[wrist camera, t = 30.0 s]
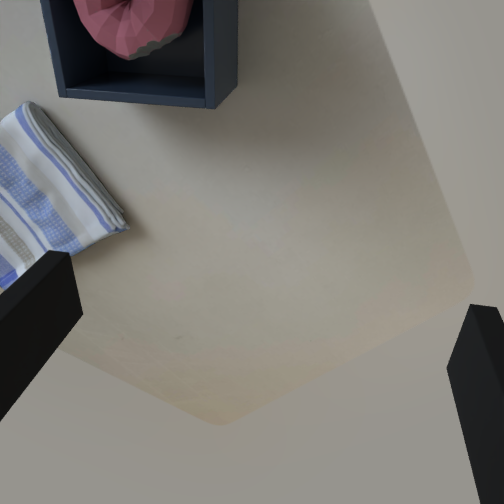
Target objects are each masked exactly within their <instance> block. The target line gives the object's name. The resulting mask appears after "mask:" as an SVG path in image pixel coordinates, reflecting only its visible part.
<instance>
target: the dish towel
mask: <svg viewBox="0 0 504 504" xmlns="http://www.w3.org/2000/svg"><path fill="white" fill-rule="evenodd" d="M122 213H123V210H122V209H121V208H120V207H119V206H118V204H117V203H116V202H115V200H114V199H113V198H112V197H111V196H110V194H109V193H108V192H107V190H106V189H105V188H104V186H103V185H102V183H101V182H100V181H99V180H98V178H97V177H96V176H95V175H94V173H93V172H92V171H91V169H90V168H89V167H88V166H87V164H86V163H85V162H84V161H83V160H82V158H81V157H80V156H79V155H78V153H77V152H76V151H75V150H74V149H73V147H72V146H71V145H70V144H69V142H68V141H67V140H66V139H65V138H64V136H63V135H62V134H61V133H60V132H59V131H58V129H57V128H56V127H55V125H54V124H53V123H52V122H51V120H50V119H49V118H48V117H47V116H46V115H45V113H44V112H43V111H42V110H41V109H40V108H39V107H38V106H37V105H36V104H35V103H33V102H31V101H27V102H25V103H24V104H22V105H21V106H19V107H18V109H16V110H14V111H13V112H11V113H10V114H8V115H7V116H6V117H5V118H4V119H2V120H1V121H0V287H2V288H3V289H4V290H6V289H7V288H8V287H9V286H10V285H11V284H13V283H14V282H15V281H16V280H17V279H18V278H19V277H20V276H21V275H22V274H23V273H24V272H25V271H27V270H28V269H29V268H30V267H31V266H32V265H33V264H34V263H35V262H36V261H37V260H38V259H39V258H41V257H42V256H43V255H44V254H45V253H46V252H47V251H48V250H54V251H62V252H69V253H70V257H71V256H74V255H75V254H77V253H79V252H81V251H82V250H84V249H86V248H87V247H89V246H91V245H93V244H95V243H96V242H98V241H100V240H102V239H105V238H107V237H108V236H111V235H113V234H116V233H120V232H122V231H124V230H128V229H130V226H129V225H127V224H126V222H125V220H124V219H123V217H122V215H121V214H122Z"/></svg>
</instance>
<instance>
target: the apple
mask: <svg viewBox="0 0 504 504" xmlns="http://www.w3.org/2000/svg"><path fill="white" fill-rule="evenodd" d="M73 1H74V4H75V6H76V9H77V12H78V15H79V17H80V20H81V22H82V23H83V25H84V26H85V27H86V29H87V30H88V32H89V33H90V34H91V36H92V37H93V39H94V40H95V41H96V42H97V43H98V44H100V45H101V46H103V47H105V48H106V49H108V50H109V51H111V52H112V53H114V54H116V55H117V56H119V57H121V58H123V59H126V60H133V59H136V58H138V57H142V56H147V55H149V54H150V52H151V51H153V50H155V49H160V48H161V47H162V46H163V45H165V44H168V43H171V41H172V40H174V39H175V38H177V37H178V36H179V37H180V36H181V34H182V32H183V31H184V29H185V28H186V26H187V24H188V20H189V17H190V13H191V9H192V5H193V2H194V0H73Z"/></svg>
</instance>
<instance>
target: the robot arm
mask: <svg viewBox="0 0 504 504" xmlns="http://www.w3.org/2000/svg"><path fill="white" fill-rule="evenodd" d="M82 315H83V311H82V306H81V302H80V298H79V293H78V289H77V284H76V280H75V275H74V271H73V267H72V262H71V258H70V253H69V252H62V251H54V250H48V251H47V252H46V253H45V254H44V255H43V256H42V257H41V258H39V259H38V260H37V261H36V262H35V263H34V264H33V265H32V266H31V267H30V268H29V269H28V270H27V271H25V272H24V273H23V274H22V275H21V276H20V277H19V278H18V279H17V280H16V281H15V282H14V283H13V284H11V285H10V286H9V287H8V288H7V289H6V290H5V291H4V292H3V293H2V294H1V295H0V421H1V420H2V419H3V417H4V416H5V415H6V414H7V412H8V411H9V410H10V408H11V407H12V405H13V404H14V403H15V402H16V400H17V399H18V398H19V397H20V395H21V394H22V393H23V391H24V390H25V389H26V388H27V386H28V385H29V384H30V382H31V381H32V380H33V379H34V377H35V376H36V375H37V373H38V372H39V371H40V370H41V368H42V367H43V366H44V364H45V363H46V362H47V360H48V359H49V358H50V357H51V355H52V354H53V353H54V351H55V350H56V349H57V348H58V346H59V345H60V344H61V342H62V341H63V340H64V338H65V337H66V336H67V335H68V333H69V332H70V331H71V329H72V328H73V327H74V326H75V324H76V323H77V322H78V320H79V319H80V318H81V317H82ZM447 372H448V376H449V380H450V384H451V388H452V392H453V396H454V400H455V404H456V408H457V412H458V416H459V420H460V424H461V428H462V432H463V435H464V440H465V444H466V448H467V452H468V456H469V460H470V464H471V468H472V472H473V476H474V479H475V484H476V488H477V492H478V496H479V500H480V504H504V322H503V320H502V318H501V316H500V313H499V311H498V309H497V307H490V306H482V305H474V304H470V306H469V309H468V311H467V315H466V317H465V320H464V322H463V325H462V328H461V331H460V333H459V336H458V338H457V341H456V344H455V346H454V349H453V352H452V354H451V357H450V360H449V363H448V365H447Z"/></svg>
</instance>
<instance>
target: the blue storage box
mask: <svg viewBox="0 0 504 504" xmlns="http://www.w3.org/2000/svg"><path fill="white" fill-rule="evenodd" d="M40 3H41V8H42V13H43V18H44V23H45V28H46V33H47V38H48V43H49V48H50V53H51V59H52V64H53V69H54V74H55V79H56V84H57V89H58V94H59V97H63V98H76V99H89V100H102V101H115V102H127V103H140V104H153V105H166V106H179V107H192V108H206V109H216V108H217V107H218V106H219V105H220V104H221V102H222V101H223V100H224V99H225V98H226V97H227V96H228V95H229V94H230V93H231V92H232V91H233V90H234V89H235V88H236V87H237V71H238V0H194V2H193V5H192V9H191V13H190V17H189V20H188V24H187V26H186V28H185V29H184V31H183V32H182V34H181V36H180V37H179V36H178V37H177V38H175V39H174V40H172V41H171V43H168V44H165V45H163V46H162V47H161V48H160V49H155V50H153V51H151V52H150V54H149V55H147V56H142V57H138V58H136V59H133V60H126V59H123V58H121V57H119V56H117V55H116V54H114V53H112V52H111V51H109V50H108V49H106V48H105V47H103V46H101V45H100V44H98V43H97V42H96V41H95V40H94V39H93V37H92V36H91V34H90V33H89V32H88V30H87V29H86V27H85V26H84V25H83V23H82V22H81V20H80V17H79V15H78V12H77V9H76V6H75V4H74V1H73V0H40Z"/></svg>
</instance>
